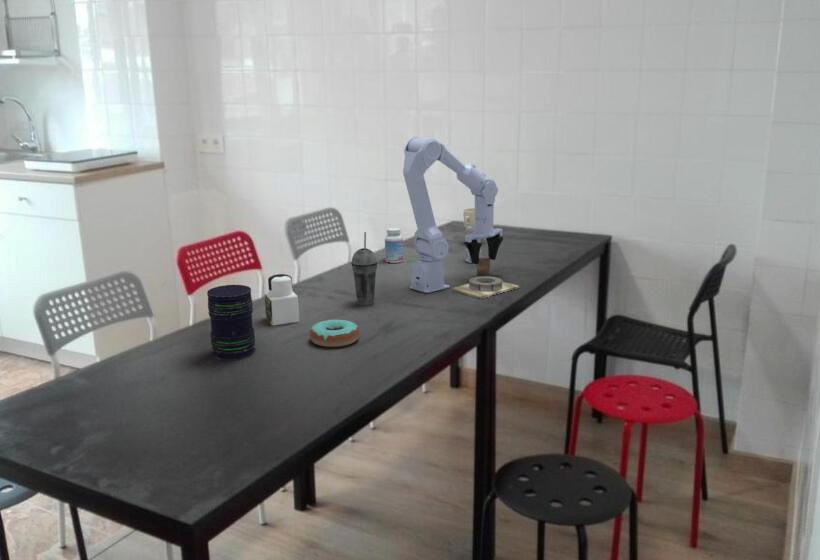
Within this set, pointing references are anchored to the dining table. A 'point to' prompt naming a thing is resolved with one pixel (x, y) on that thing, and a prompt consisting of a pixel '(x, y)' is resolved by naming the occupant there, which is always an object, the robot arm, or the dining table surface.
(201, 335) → the dining table surface
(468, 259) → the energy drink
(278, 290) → the white handled container
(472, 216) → the character mug
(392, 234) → the pill bottle
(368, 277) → the beverage cup
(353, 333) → the donut
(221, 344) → the storage jar
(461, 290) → the socket board
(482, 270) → the walnut peg
